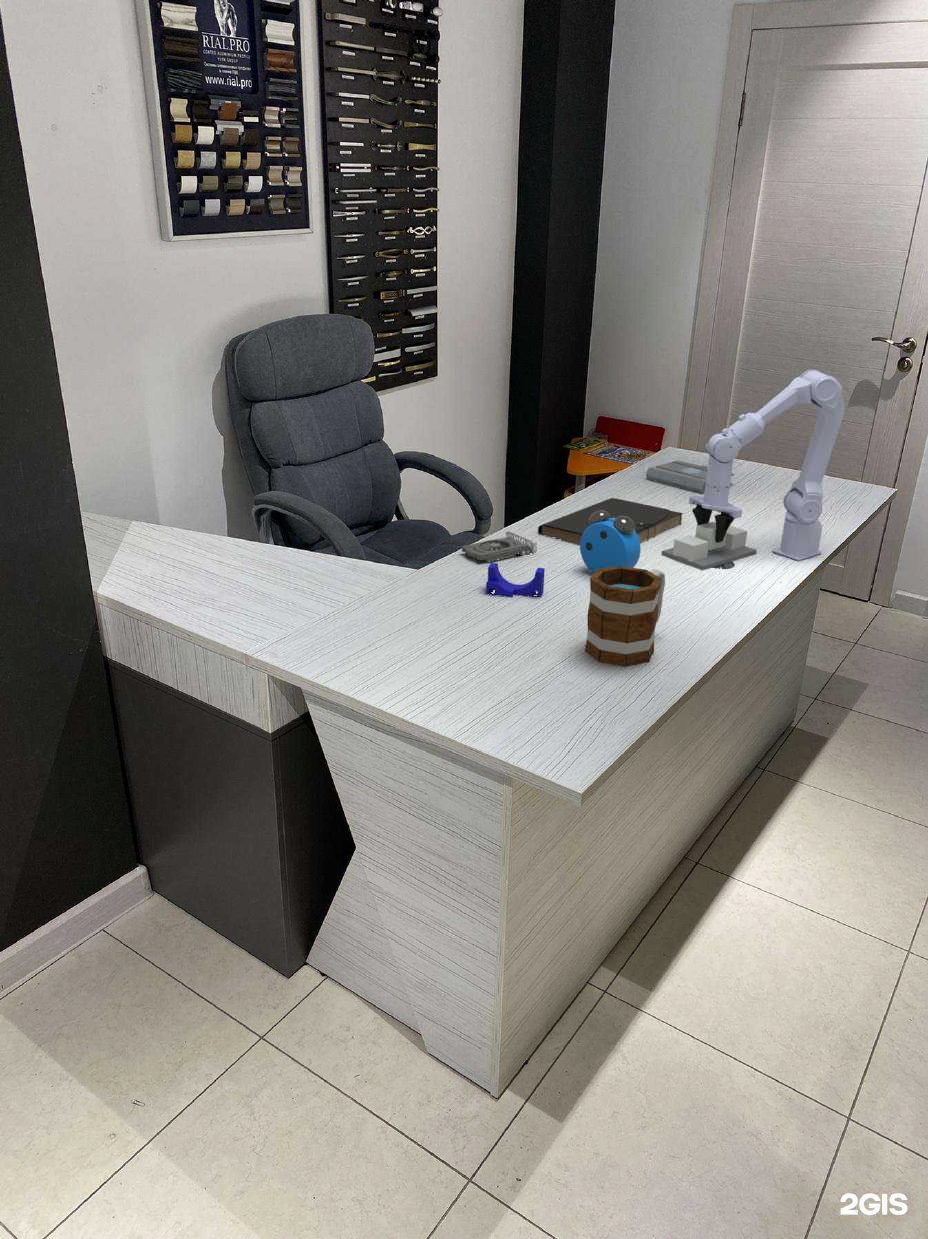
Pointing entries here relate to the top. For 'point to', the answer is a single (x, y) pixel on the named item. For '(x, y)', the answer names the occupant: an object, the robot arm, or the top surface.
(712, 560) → the rail board
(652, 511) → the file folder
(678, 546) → the mounted modules
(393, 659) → the top surface
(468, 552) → the graphics card
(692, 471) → the book
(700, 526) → the block
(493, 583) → the blue cradle bracket
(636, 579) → the mug
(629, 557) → the alarm clock
